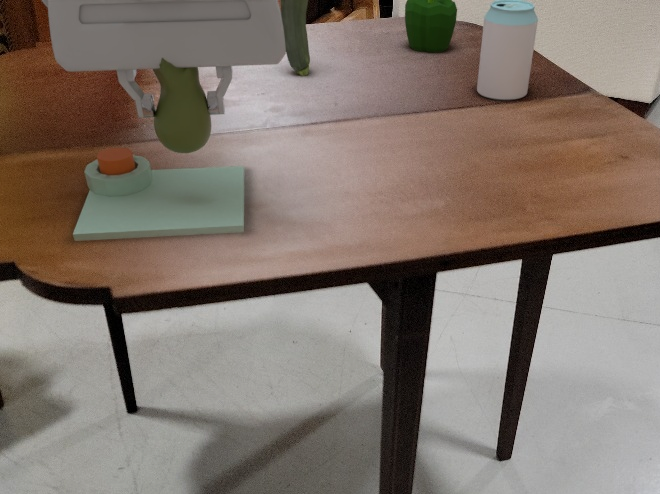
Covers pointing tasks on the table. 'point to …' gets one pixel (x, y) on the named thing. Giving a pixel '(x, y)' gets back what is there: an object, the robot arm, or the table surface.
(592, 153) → the table surface
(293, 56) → the vegetable
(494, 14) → the can
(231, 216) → the pale green flat block
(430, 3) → the bell pepper
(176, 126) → the pear
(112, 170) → the button
